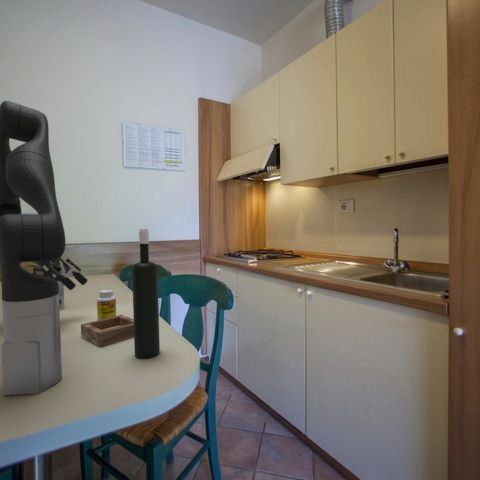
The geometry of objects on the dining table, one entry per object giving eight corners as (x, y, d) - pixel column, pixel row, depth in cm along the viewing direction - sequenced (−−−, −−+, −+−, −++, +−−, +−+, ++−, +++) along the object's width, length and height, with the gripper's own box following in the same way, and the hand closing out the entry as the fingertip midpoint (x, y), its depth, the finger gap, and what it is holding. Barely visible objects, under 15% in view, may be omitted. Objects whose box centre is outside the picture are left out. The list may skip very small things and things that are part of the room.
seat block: (142, 334, 88) (142, 322, 88) (100, 347, 79) (100, 333, 79) (121, 326, 96) (121, 314, 95) (81, 336, 87) (80, 324, 86)
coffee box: (34, 310, 116) (32, 267, 115) (51, 306, 122) (49, 265, 121) (48, 313, 112) (46, 269, 111) (65, 308, 118) (63, 266, 117)
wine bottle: (150, 347, 78) (147, 229, 77) (164, 352, 74) (161, 228, 73) (129, 354, 74) (126, 229, 72) (143, 361, 70) (139, 229, 69)
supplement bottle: (99, 326, 96) (98, 293, 95) (96, 321, 101) (95, 290, 100) (118, 322, 99) (117, 291, 99) (114, 318, 104) (113, 288, 103)
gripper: (36, 243, 90) (78, 280, 92) (61, 241, 105) (96, 273, 106) (18, 261, 90) (60, 299, 91) (45, 256, 104) (81, 289, 106)
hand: (79, 285), depth 99 cm, fingers open, 8 cm apart
